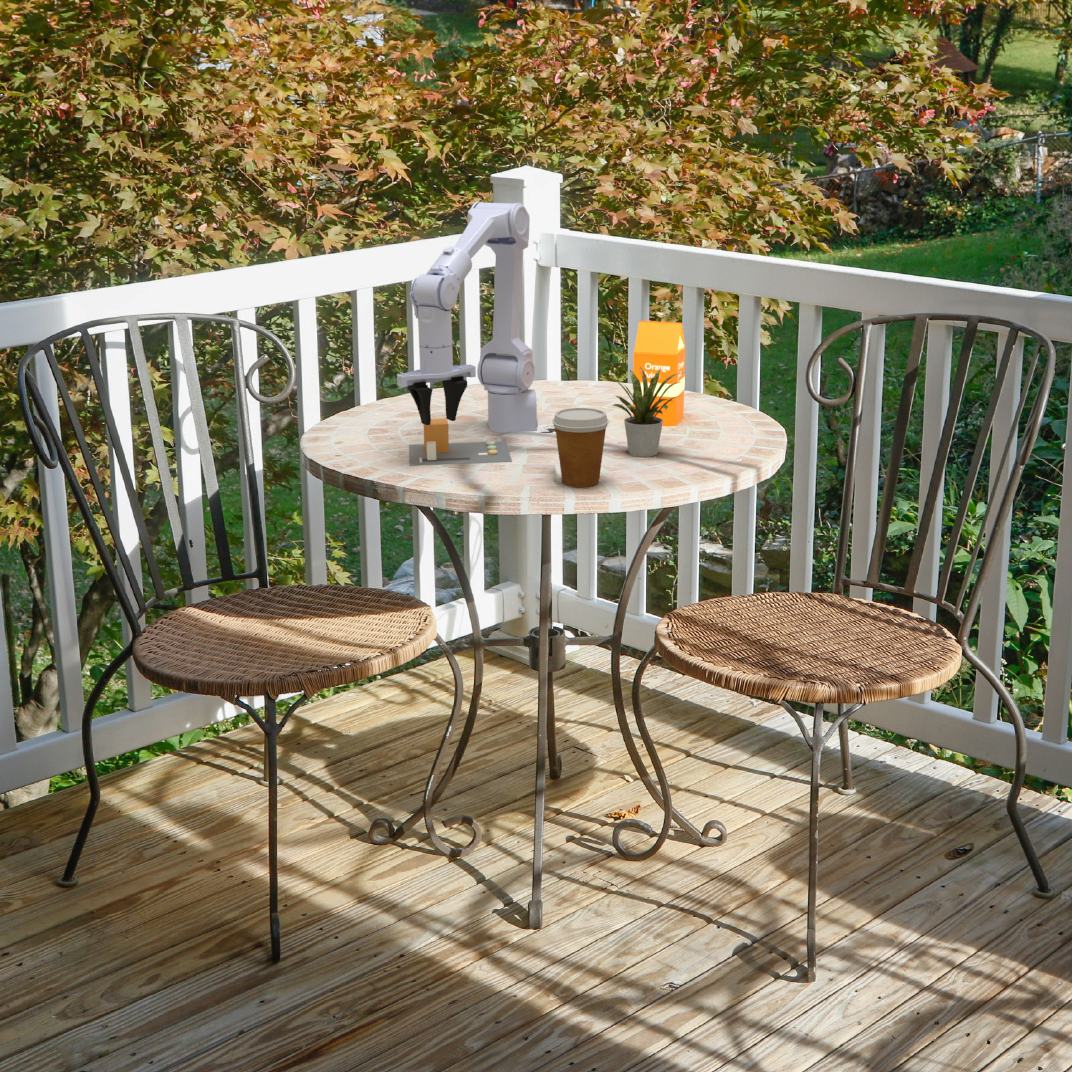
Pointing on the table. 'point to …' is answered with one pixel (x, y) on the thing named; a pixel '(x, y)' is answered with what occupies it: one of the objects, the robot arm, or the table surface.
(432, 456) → the switch
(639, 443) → the house plant
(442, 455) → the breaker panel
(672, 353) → the orange juice
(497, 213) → the robot arm
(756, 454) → the table surface
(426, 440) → the cap
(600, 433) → the disposable coffee cup
